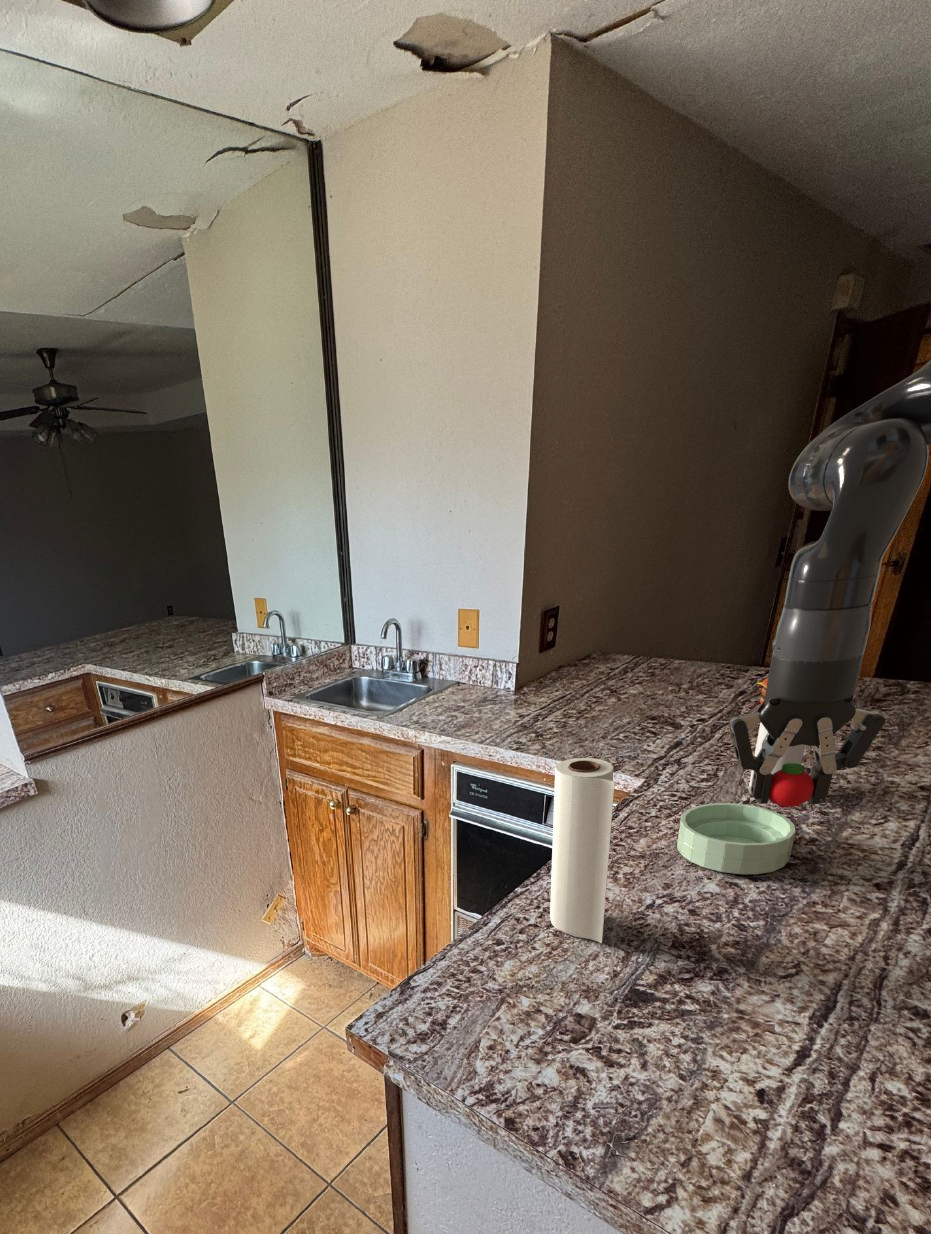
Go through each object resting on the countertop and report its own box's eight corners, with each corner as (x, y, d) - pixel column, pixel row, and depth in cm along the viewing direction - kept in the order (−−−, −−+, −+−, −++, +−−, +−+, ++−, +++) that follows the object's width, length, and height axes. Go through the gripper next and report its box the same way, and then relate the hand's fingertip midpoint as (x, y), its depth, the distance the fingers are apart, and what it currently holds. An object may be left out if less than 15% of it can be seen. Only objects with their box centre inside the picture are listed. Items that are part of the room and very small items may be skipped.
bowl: (801, 848, 90) (808, 816, 88) (768, 888, 83) (775, 854, 81) (698, 825, 100) (702, 796, 97) (660, 860, 92) (664, 829, 90)
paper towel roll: (551, 907, 86) (556, 755, 76) (601, 911, 83) (613, 755, 74) (548, 939, 80) (553, 779, 70) (601, 944, 77) (615, 779, 68)
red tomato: (815, 802, 74) (823, 762, 71) (802, 816, 71) (811, 776, 69) (769, 794, 77) (776, 756, 75) (756, 808, 74) (763, 769, 72)
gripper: (745, 663, 66) (721, 815, 73) (923, 652, 61) (878, 816, 68) (727, 647, 72) (707, 788, 79) (887, 636, 67) (850, 787, 74)
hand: (786, 800), depth 74 cm, fingers closed on red tomato, 4 cm apart
